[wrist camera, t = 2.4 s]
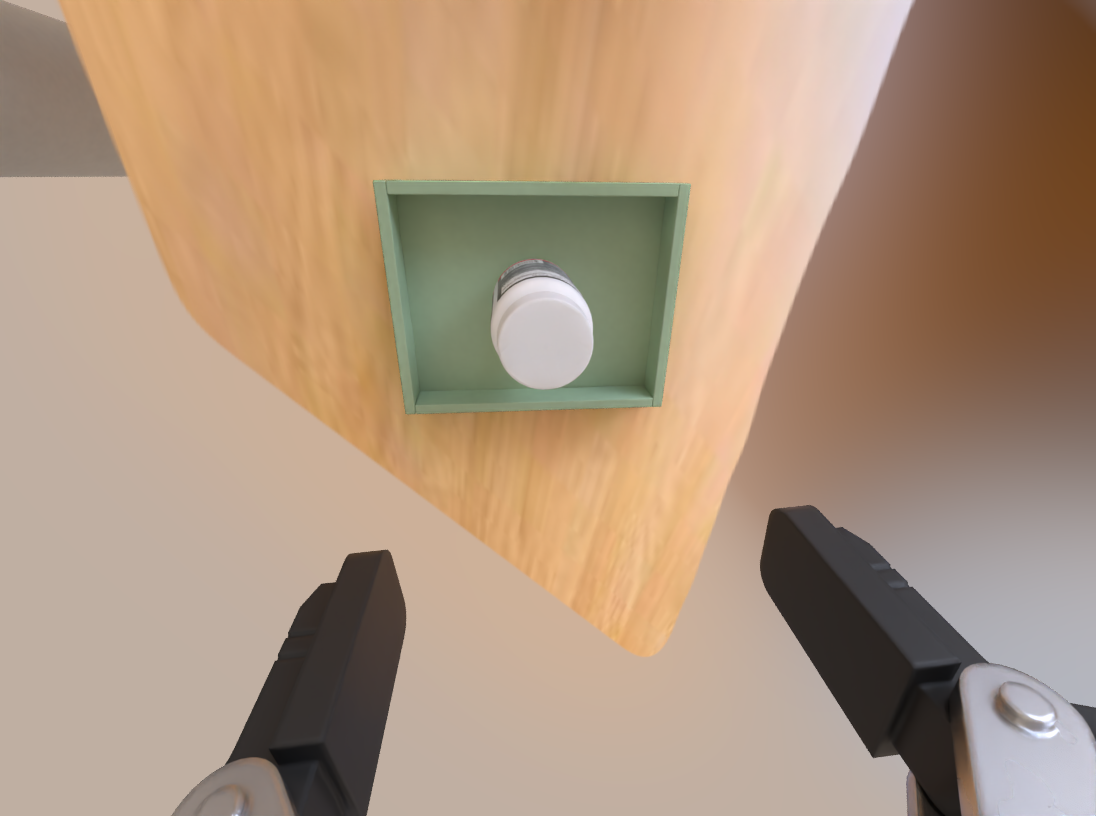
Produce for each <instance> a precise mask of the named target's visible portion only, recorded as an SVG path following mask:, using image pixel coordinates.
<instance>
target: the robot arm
mask: <svg viewBox="0 0 1096 816" xmlns="http://www.w3.org/2000/svg"><path fill="white" fill-rule="evenodd" d="M760 571H761V576H762V580H763V583H764V586H765V588H766V590H767V592H768V594H769V595H770V597H771V599H772V600H773V602H774V603H775V605H776V606H777V608H778V610H779V611H780V613H781V614H782V616H783V617H784V619H785V621H786V622H787V624H788V625H789V627H790V628H791V630H792V632H793V633H794V635H795V636H796V638H797V639H798V641H799V643H800V644H801V646H802V647H803V649H804V650H805V652H806V654H807V655H808V657H809V658H810V660H811V661H812V663H813V664H814V666H815V668H816V669H817V671H818V672H819V674H820V676H821V677H822V679H823V680H824V682H825V683H826V685H827V686H828V688H829V690H830V691H831V693H832V694H833V696H834V697H835V699H836V701H837V702H838V704H839V705H840V707H841V708H842V710H843V711H844V713H845V715H846V716H847V718H848V719H849V721H850V722H851V724H852V726H853V727H854V729H855V730H856V732H857V734H858V735H859V737H860V738H861V740H862V741H863V743H864V744H865V746H866V748H867V749H868V751H869V752H870V754H871V756H872V757H873V758H876V757H884V756H891V755H898V754H900V756H901V757H902V759H903V760H904V762H905V763H906V764H907V766H908V767H909V769H910V770H909V772H908V775H907V782H906V786H907V787H906V788H907V814H908V816H1096V708H1094V707H1089V706H1083V705H1078V704H1072V703H1069V702H1068V701H1067V700H1066V699H1064V698H1063V697H1062V696H1061V695H1059V694H1058V693H1057V692H1056V691H1054V690H1053V689H1051V688H1050V687H1048V686H1047V685H1045V684H1044V683H1042V682H1040V681H1038V680H1037V679H1035V678H1033V677H1031V676H1029V675H1027V674H1025V673H1023V672H1021V671H1018V670H1016V669H1013V668H1010V667H1007V666H1003V665H999V664H993V663H989V662H987V661H986V660H985V659H984V658H983V657H982V656H981V655H980V654H979V653H978V652H977V651H976V650H975V649H974V648H973V647H972V646H971V645H970V644H969V643H968V642H967V641H966V640H965V639H964V638H963V637H962V636H961V635H960V634H959V633H958V632H957V631H956V630H955V629H954V628H953V627H952V626H951V625H950V624H949V623H948V622H947V621H946V620H945V619H944V618H943V617H942V616H941V615H940V614H939V613H938V612H937V611H936V610H935V609H934V608H933V607H932V606H931V605H930V604H929V603H928V602H927V601H926V600H925V599H924V598H923V597H922V596H921V595H920V594H919V593H918V592H917V591H916V590H915V589H914V588H913V587H909V586H908V582H907V581H906V580H905V579H904V578H903V577H902V576H901V575H900V574H899V573H898V572H897V571H896V570H895V569H891V567H890V564H889V563H888V562H887V561H886V560H885V559H884V558H883V557H882V556H881V555H880V554H879V553H878V552H877V551H876V550H875V549H874V548H873V547H872V546H871V545H870V544H869V543H867V542H866V541H864V540H862V539H861V538H859V537H858V536H856V535H854V534H853V533H851V532H849V531H847V530H846V529H844V528H843V527H840V528H835V527H834V526H833V525H832V524H831V523H830V522H829V521H828V520H827V519H826V517H824V516H823V514H822V513H820V511H819V510H818V509H817V508H815V507H814V506H811V505H806V506H797V507H788V508H779V509H774V510H772V511H771V513H770V515H769V520H768V525H767V530H766V535H765V540H764V546H763V550H762V555H761V561H760ZM405 628H406V607H405V602H404V598H403V594H402V591H401V587H400V583H399V580H398V577H397V573H396V569H395V566H394V562H393V559H392V556H391V553H390V552H389V551H388V550H381V551H370V552H361V553H353V554H349V555H348V556H347V557H346V559H345V561H344V563H343V566H342V568H341V571H340V573H339V576H338V578H337V581H336V582H335V583H325V584H321V585H320V586H319V587H318V588H317V589H316V590H315V591H314V592H313V594H312V595H311V596H310V597H309V598H308V599H307V600H306V601H305V603H303V605H302V606H301V607H300V609H299V611H298V613H297V615H296V618H295V619H294V622H293V624H292V626H291V628H290V630H289V632H288V638H286V639H285V641H284V643H283V645H282V647H281V650H280V652H279V654H278V660H277V661H275V662H274V664H273V667H272V669H271V671H270V673H269V675H268V677H267V680H266V682H265V684H264V686H263V688H262V690H261V692H260V695H259V697H258V699H257V701H256V703H255V705H254V707H253V709H252V712H251V714H250V716H249V718H248V720H247V722H246V724H245V727H244V729H243V731H242V733H241V735H240V737H239V740H238V742H237V744H236V746H235V748H234V750H233V752H232V754H231V756H230V758H229V759H228V761H227V762H226V764H225V766H223V767H221V768H219V769H218V770H216V771H215V772H213V773H212V774H210V775H209V776H207V777H206V778H205V779H204V780H202V781H201V782H200V783H199V784H198V785H197V786H196V787H195V788H194V789H192V791H191V792H190V793H189V794H188V795H187V796H186V797H185V798H184V799H183V801H182V802H181V803H180V805H179V806H178V807H177V808H176V810H175V811H174V813H173V814H172V816H366V815H367V810H368V806H369V801H370V796H371V791H372V787H373V782H374V777H375V772H376V768H377V763H378V758H379V754H380V749H381V744H382V739H383V735H384V730H385V725H386V720H387V716H388V711H389V706H390V701H391V696H392V692H393V687H394V682H395V678H396V673H397V668H398V663H399V659H400V653H401V649H402V645H403V640H404V634H405Z"/></svg>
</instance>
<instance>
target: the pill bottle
mask: <svg viewBox="0 0 1096 816" xmlns="http://www.w3.org/2000/svg"><path fill="white" fill-rule="evenodd" d="M490 330H491V338H492V342H493V345H494V348H495V350H496V352H497V354H498V355H499V358H500V361H501V363H502V365H503V367H504V368H505V370H506V371H507V372H508V374H509V375H510V376H511V377H512V378H513V379H515V380H516V381H517V382H519V383H520V384H523V385H525V386H527V387H530V388H534V389H541V390H548V389H555V388H559V387H562V386H564V385H566V384H569V383H570V382H572V381H573V380H575V379H576V378H577V377H578V376H579V375H580V374H581V373H582V372H583V371H584V369H585V368H586V367H587V365H588V363H589V361H590V358H591V355H592V351H593V322H592V316H591V313H590V310H589V308H588V305H587V303H586V302H585V300H584V298H583V296H582V294H581V293H580V292H579V291H578V289H577V288H576V287H575V285H574V284H573V282H572V281H571V279H570V278H569V276H568V275H567V274H566V273H565V272H564V271H563V270H562V269H561V268H560V267H558V266H557V265H555V264H553V263H552V262H549V261H546V260H543V259H526V260H522V261H519V262H517V263H515V264H513V265H511V266H510V267H509V268H507V269H506V270H505V271H504V272H503V273H502V275H501V276H500V278H499V279H498V281H497V283H496V285H495V288H494V292H493V298H492V313H491V322H490Z"/></svg>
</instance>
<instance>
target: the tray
mask: <svg viewBox="0 0 1096 816" xmlns="http://www.w3.org/2000/svg"><path fill="white" fill-rule="evenodd" d="M373 187H374V194H375V201H376V208H377V215H378V222H379V229H380V236H381V243H382V250H383V257H384V264H385V271H386V278H387V286H388V293H389V300H390V307H391V314H392V321H393V328H394V335H395V342H396V349H397V356H398V363H399V370H400V377H401V385H402V392H403V399H404V406H405V413H406V414H434V413H467V412H499V411H532V410H565V409H598V408H630V407H661V406H662V398H663V391H664V383H665V376H666V368H667V361H668V353H669V346H670V338H671V330H672V323H673V315H674V308H675V300H676V293H677V285H678V278H679V270H680V263H681V255H682V248H683V240H684V233H685V225H686V217H687V210H688V202H689V195H690V187H691V184H689V183H644V182H550V181H456V180H374V181H373ZM526 259H543V260H546V261H549V262H552V263H553V264H555V265H557V266H558V267H560V268H561V269H562V270H563V271H564V272H565V273H566V274H567V275H568V276H569V278H570V279H571V281H572V282H573V284H574V285H575V287H576V288H577V289H578V291H579V292H580V293H581V294H582V296H583V298H584V300H585V302H586V303H587V305H588V308H589V310H590V313H591V316H592V322H593V351H592V355H591V358H590V361H589V363H588V365H587V367H586V368H585V369H584V371H583V372H582V373H581V374H580V375H579V376H578V377H577V378H576V379H575V380H573V381H572V382H570V383H569V384H566V385H564V386H562V387H559V388H555V389H548V390H541V389H534V388H530V387H527V386H525V385H523V384H520V383H519V382H517V381H516V380H515V379H513V378H512V377H511V376H510V375H509V374H508V372H507V371H506V370H505V368H504V367H503V365H502V363H501V361H500V358H499V355H498V354H497V352H496V350H495V348H494V345H493V342H492V338H491V330H490V322H491V313H492V298H493V292H494V288H495V285H496V283H497V281H498V279H499V278H500V276H501V275H502V273H503V272H504V271H505V270H506V269H507V268H509V267H510V266H511V265H513V264H515V263H517V262H519V261H522V260H526Z"/></svg>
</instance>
